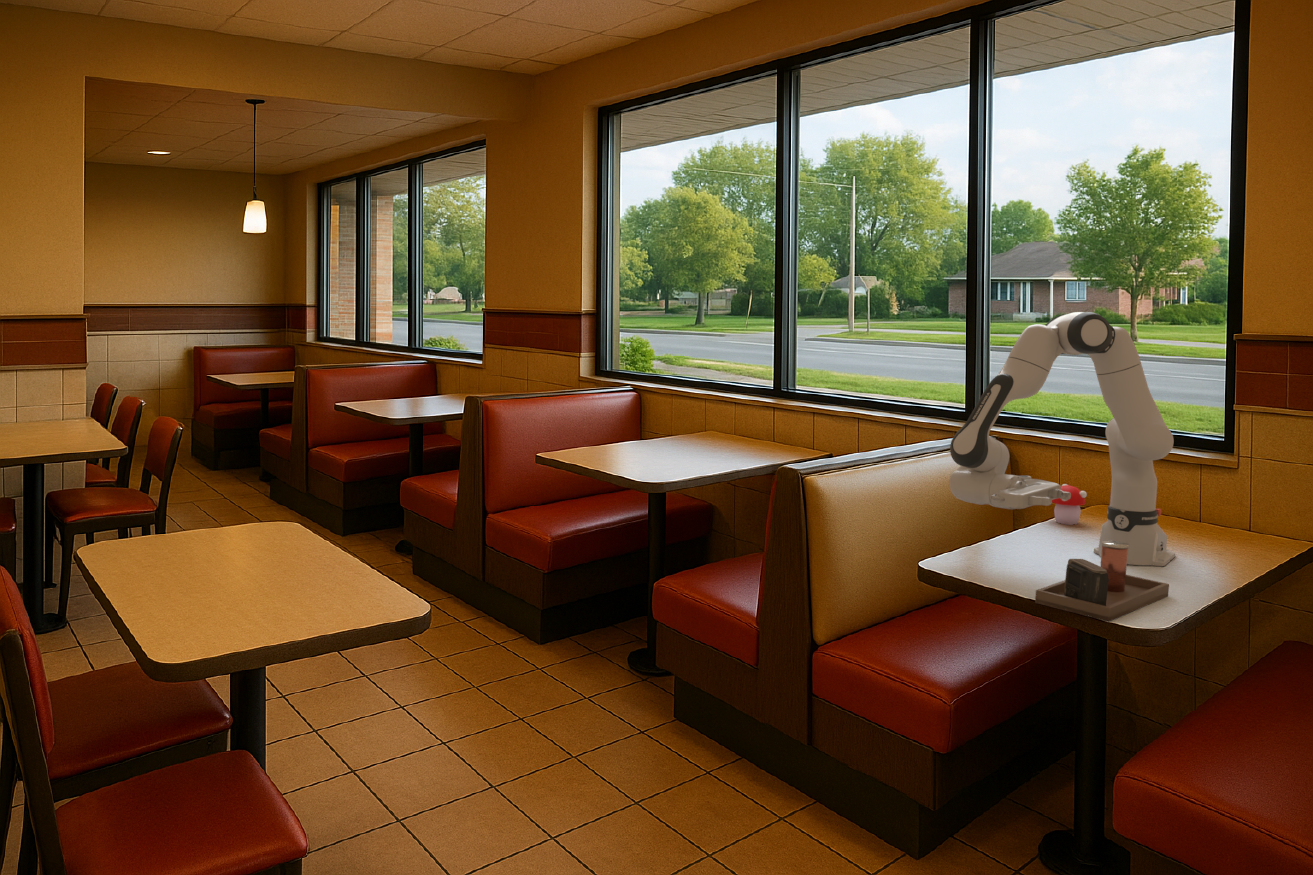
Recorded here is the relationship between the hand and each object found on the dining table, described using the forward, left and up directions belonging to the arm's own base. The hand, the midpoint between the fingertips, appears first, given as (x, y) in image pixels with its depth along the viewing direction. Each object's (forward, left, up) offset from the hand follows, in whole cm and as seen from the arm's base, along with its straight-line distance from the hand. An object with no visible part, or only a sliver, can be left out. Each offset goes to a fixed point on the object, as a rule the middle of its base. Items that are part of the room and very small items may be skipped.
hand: (1060, 499), depth 240 cm
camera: (+16, +15, -21) cm, 30 cm away
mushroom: (-64, -30, -21) cm, 74 cm away
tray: (+7, +16, -20) cm, 27 cm away
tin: (0, +14, -19) cm, 24 cm away
